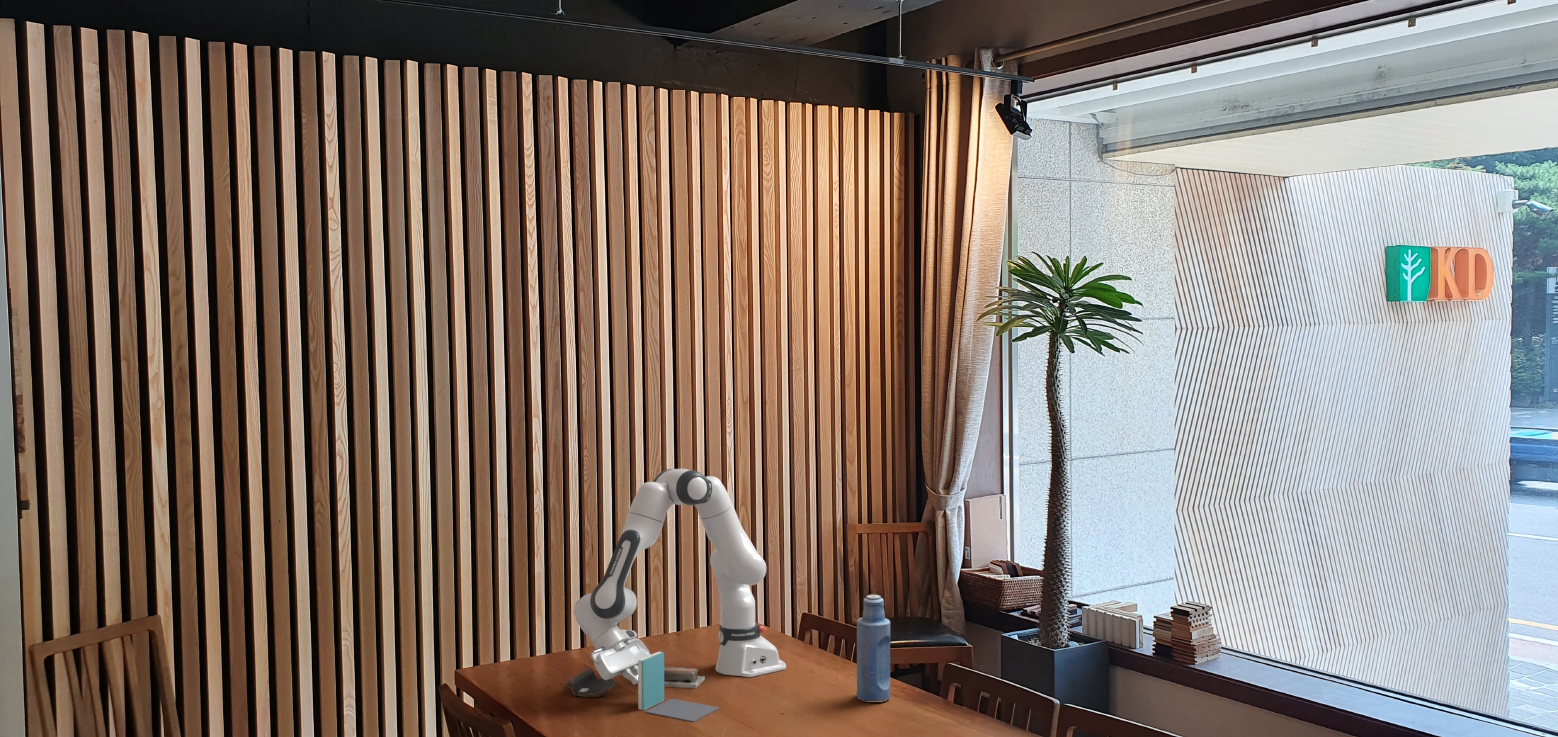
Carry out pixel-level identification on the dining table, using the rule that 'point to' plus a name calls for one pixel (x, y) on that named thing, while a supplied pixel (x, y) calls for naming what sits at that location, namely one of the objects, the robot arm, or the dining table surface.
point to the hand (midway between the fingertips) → (638, 681)
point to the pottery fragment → (589, 684)
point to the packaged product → (682, 677)
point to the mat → (682, 710)
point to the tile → (650, 680)
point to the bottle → (873, 651)
